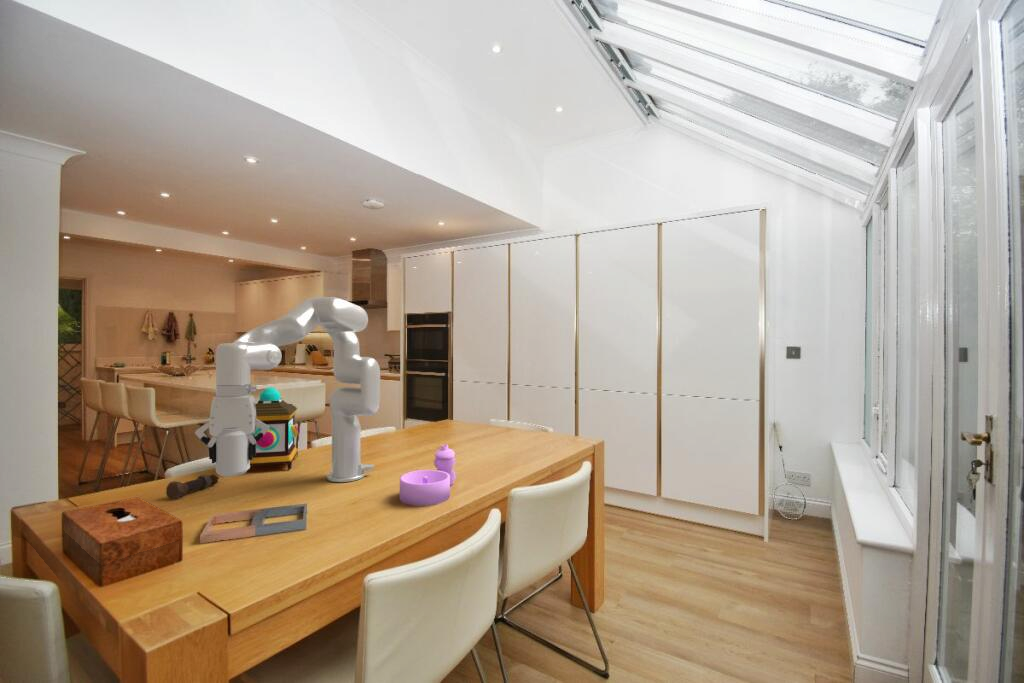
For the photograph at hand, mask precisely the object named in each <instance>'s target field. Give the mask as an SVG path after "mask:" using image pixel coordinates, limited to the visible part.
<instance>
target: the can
mask: <svg viewBox="0 0 1024 683" xmlns="http://www.w3.org/2000/svg"><path fill="white" fill-rule="evenodd" d="M241 429H242V428H237V429H222V430H223V432H221V433H220V434H219V435H217V437H216V462H215V473H217V475H219V476H221V477H235V476H240V475H243V474H245V473H247V471H248V470H250V468H251V466H250V460H249V444H250V441H249V439H248V435H247V434H246V433H244V432H243V431H241Z"/></svg>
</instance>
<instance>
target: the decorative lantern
mask: <svg viewBox="0 0 1024 683" xmlns="http://www.w3.org/2000/svg"><path fill="white" fill-rule="evenodd" d="M255 406H256V419H258V420H260V421H261V422H263V423H265V424H266V425H268V426H269V430H268V431H267V432H266V433H265V434H264V436H263V437H262V438H261V439H260V440H259V441H258V442H257V443H256V456H253V459H252V460H250V467H251V466H263V465H264V466H265V465H278V464H280V465H281V464H284V465H286V468H287V470H288V471H290V469H292V468H293V467H292V464H293V461H294V460H297V459H298V454H299V451H298V449H297V447H296V445H295V438H296V437H298V435H299V429H298V427H297V425H295V418H296V417H295V416H296V413H297V411H298V407H297V406H295V405H294V404H292V403H287V402H286V401H285V400H283V398H281V393H280V391H278V390H277V389H276V388H275V387H272V386H269V387H267V388H264V390H263V391H262V392H261V393H260V395H259V400H258V401H257V403H255ZM261 430H262V429H261V428H260V427H258V426H257V425H256V430H255V431H254V435H255V436H257V435H258V434H259V433H260V432H261ZM296 458H297V459H296Z"/></svg>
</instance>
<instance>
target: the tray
mask: <svg viewBox="0 0 1024 683" xmlns="http://www.w3.org/2000/svg"><path fill="white" fill-rule="evenodd" d="M293 514H294V515H300V514H303V516H302V518H300V519H294V520H293V519H292V520H284V521H277V522H271V523H269V522H268V523H264V522H266V519H267V518H266V517H269V518H274V517H273V516H277V517H283V516H282V515H285V516H292V515H293ZM265 518H266V519H265ZM249 519H253V520H251V523H250V525H245V526H241V527H240V526H239V527H230V528H224V529H215V530H213V527H214V526H213V525H219V524H218V523H221V524H226V523H225V522H229V523H234V522H233V521H237V522H244V521H243V520H245V521H250V520H249ZM307 519H308V503H299V504H290V505H283V506H282V505H281V506H280V505H279V506H274V507H272V506H271V507H266V508H265V507H264V508H256V509H249V510H248V509H247V510H239V511H231V512H229V511H228V512H221V513H213V514H212V515H210V518H209V520H208V521H207V523H206V525H205V527H204V528H203V530H202V532H201V533H200V535H199V538H200V540H199V541H200V542H199V543H202V544H209V543H215V541H216V542H221V541H220V540H224V541H229V539H231V540H236V539H237V538H238V539H244V538H245V539H246V538H251V537H252V536H253V537H259V536H266V535H274V534H281V533H283V534H284V533H288V532H296V531H302V530H303V531H304V530H307ZM238 539H237V540H238ZM208 542H209V543H208Z"/></svg>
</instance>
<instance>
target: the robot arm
mask: <svg viewBox="0 0 1024 683" xmlns="http://www.w3.org/2000/svg"><path fill="white" fill-rule="evenodd" d="M368 323H369V317H368V312H366V310H365V309H364V307H362V306H359V305H357V304H355V303H352V302H351V301H348V300H345V299H343V298H341V297H340V298H339V297H336V296H313V297H309V298H307V299H305V300H304V301H302V302H300V303H299V304H298V305H296V306H295V307H294V308H293V309H291V310H290V311H289V312H287V313H286V314H284V315H283V316H282V317H280V318H277V319H275V320H272V321H269V322H267V323H265V324H262V325H259V326H257V327H255V328H253V329H250V330H249V331H247V332H246V333H243V334H242V335H241V336H240V337H238V338H237V339H235V340H234V341H233V342H231V343H230V342H229V343H225V342H224V343H219V344H218V345H217V347H216V349H215V350H216V351H215V359H216V360H215V396H214V397H212V400H211V406H210V413H209V414H210V415H209V421H207V423H204V424H203V425H201V427H199V428H197V429H196V430H195V431H194V434H195V435H196V436H197V438H198V439H199V440H200V441H201V442H202V443H203V444H204V445H206V446H207V447H208V450H209V451H208V455H209V456H208V458H209V460H211V464H216V437H217V435H219V434H220V433H221V432H223V430H222V429H237V428H242V429H241V431H243V432H244V433H246V434H247V435H248V439H249V441H250V444H249V460H252V459H253V456H256V443H257V442H258V441H259V440H260V439H261V438H262V437H263V436H264V434H265V433H266V432H267V431H268V430H269V426H268V425H266V424H265V423H263V422H261V421H260V420H258V419H256V406H255V404H256V401H255V400H256V399H255V396H254V395H252V394H251V393H254V392H257V390H258V389H257V385H256V386H253V385H252V384H251V370H252V371H253V370H255V371H268V370H271V369H275V368H276V367H277V366H279V364H280V363H281V361H282V358H283V357H282V356H283V355H282V351H281V348H279V347H281V346H287V345H291V344H294V343H297V342H300V341H303V339H304V338H306V337H307V336H308V335H309V334H310V333H311V332H313V331H314V330H315V329H317V327H319V326H320V327H321V328H322V329H323V330H324V331H325V332H326V333H327V334H328V335H329V337H330V338H331V340H332V344H333V375H334V376H333V377H334V379H335V380H336V382H338V383H342V384H348V385H349V384H351V385H352V384H353V385H360V387H355V386H354V387H352V386H351V387H349V386H343V387H338V388H335V389H334V390H333V391H332V392H331V393H330V395H329V398H328V406H329V409H330V410H329V412H330V416H331V471H330V472H329V473H328V474H326V480H328V481H330V482H334V483H348V482H349V483H350V482H353V481H357V480H358V481H359V480H361V479H362V478H364V477H365V474H366V472H367V471H374V470H375V465H374V464H370V463H367V464H363V463H362V461H361V432H362V431H361V430H362V428H361V423H360V420H359V418H358V416H363V417H370V416H374V415H375V414H376V413H377V412H378V410H379V408H380V403H381V368H380V365H379V362H378V361H377V360H376V359H375V358H373V357H370V356H361V354H360V340H359V338H358V336H357V335H356V333H358V332H359V333H360V332H362V331H364V330H365V329H366V328H367V327H368ZM256 425H257V426H258V427H260V428H261V429H262V430H261V432H260V433H259V434H258V435H257V436H255V435H254V431H255V430H256ZM207 430H208V433H209V436H211V438H210V437H209V436H208V435H206V434H205V431H207Z"/></svg>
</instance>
